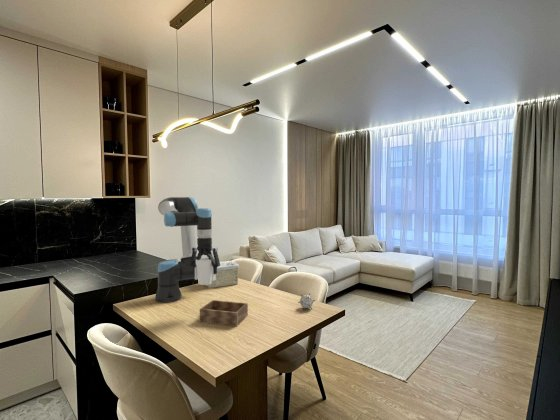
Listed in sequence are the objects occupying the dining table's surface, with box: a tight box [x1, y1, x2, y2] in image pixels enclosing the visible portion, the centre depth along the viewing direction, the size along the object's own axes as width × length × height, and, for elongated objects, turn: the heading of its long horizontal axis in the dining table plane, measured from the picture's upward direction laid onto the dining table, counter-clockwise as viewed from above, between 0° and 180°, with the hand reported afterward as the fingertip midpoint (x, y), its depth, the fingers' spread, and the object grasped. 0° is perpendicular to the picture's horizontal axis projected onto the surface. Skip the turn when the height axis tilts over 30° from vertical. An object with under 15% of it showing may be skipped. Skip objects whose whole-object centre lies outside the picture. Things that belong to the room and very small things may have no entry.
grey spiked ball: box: [297, 293, 316, 311], centre depth 168 cm, size 9×8×10 cm
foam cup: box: [196, 257, 213, 286], centre depth 159 cm, size 10×9×13 cm
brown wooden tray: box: [199, 299, 249, 327], centre depth 153 cm, size 20×14×6 cm
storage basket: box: [205, 260, 240, 289], centre depth 217 cm, size 24×16×15 cm
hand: (205, 279), depth 159 cm, fingers closed on foam cup, 9 cm apart
